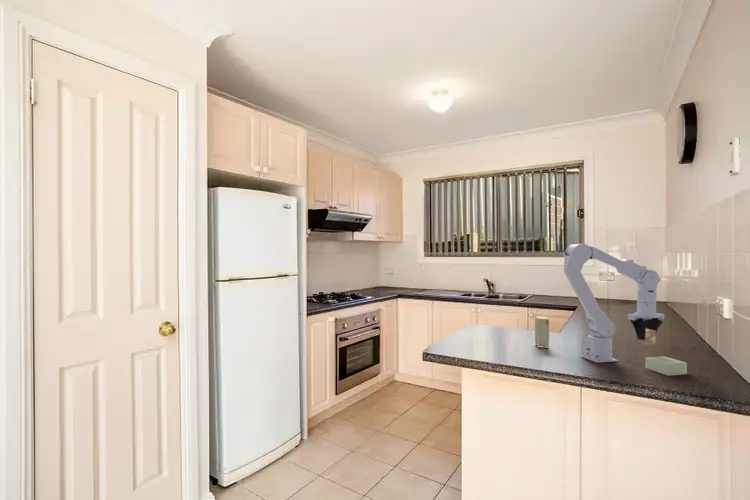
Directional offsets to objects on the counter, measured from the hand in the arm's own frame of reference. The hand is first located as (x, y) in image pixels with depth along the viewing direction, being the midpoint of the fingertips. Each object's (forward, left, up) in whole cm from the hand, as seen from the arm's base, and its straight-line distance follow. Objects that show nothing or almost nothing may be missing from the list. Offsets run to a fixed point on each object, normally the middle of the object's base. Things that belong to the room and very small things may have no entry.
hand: (645, 339), depth 140 cm
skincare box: (-24, +26, -8) cm, 36 cm away
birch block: (0, 0, -1) cm, 1 cm away
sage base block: (-3, -10, -9) cm, 14 cm away
